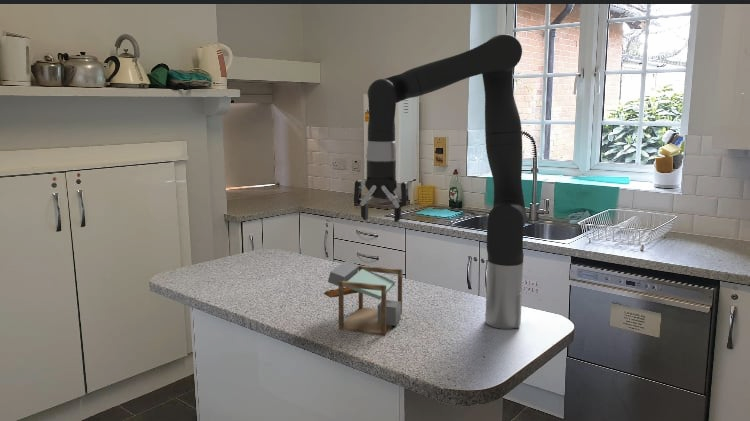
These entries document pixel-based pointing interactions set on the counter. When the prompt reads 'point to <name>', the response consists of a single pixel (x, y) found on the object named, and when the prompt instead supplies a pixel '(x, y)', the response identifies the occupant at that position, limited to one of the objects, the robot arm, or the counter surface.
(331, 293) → the primitive tool
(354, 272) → the trapdoor
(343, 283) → the wooden box frame
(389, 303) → the stone
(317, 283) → the counter surface
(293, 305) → the counter surface
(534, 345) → the counter surface
